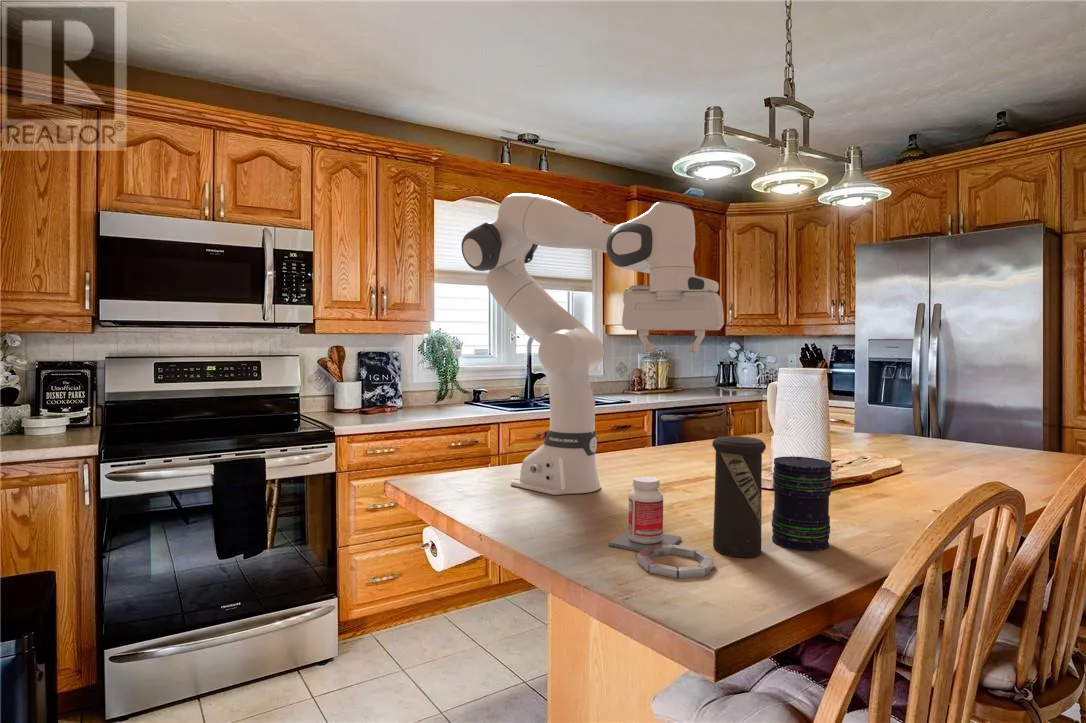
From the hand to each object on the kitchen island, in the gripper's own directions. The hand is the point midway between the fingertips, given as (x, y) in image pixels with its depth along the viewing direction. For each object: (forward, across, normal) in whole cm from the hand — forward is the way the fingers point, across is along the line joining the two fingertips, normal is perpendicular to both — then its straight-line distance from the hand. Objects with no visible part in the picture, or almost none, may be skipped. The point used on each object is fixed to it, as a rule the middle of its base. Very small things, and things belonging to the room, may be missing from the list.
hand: (670, 353), depth 125 cm
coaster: (+34, +1, -15) cm, 37 cm away
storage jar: (+34, +25, 0) cm, 42 cm away
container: (+34, +16, -10) cm, 39 cm away
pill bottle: (+34, +1, -15) cm, 37 cm away
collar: (+34, +9, -22) cm, 42 cm away
